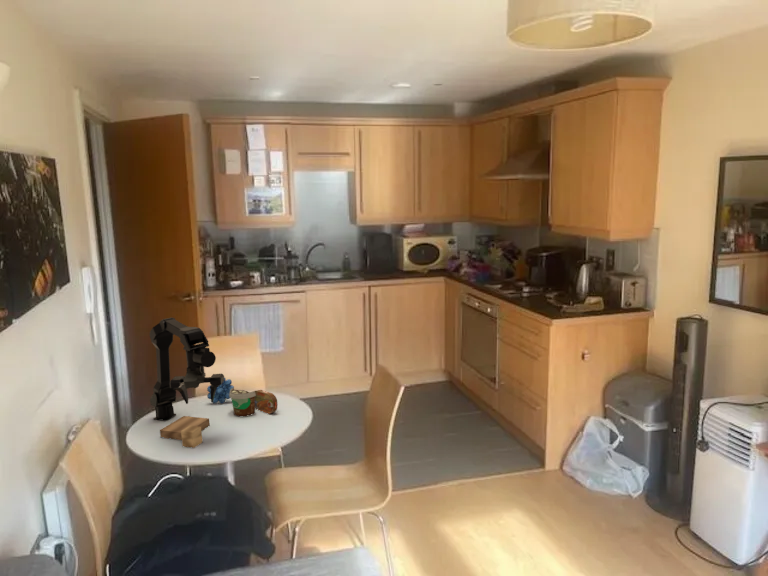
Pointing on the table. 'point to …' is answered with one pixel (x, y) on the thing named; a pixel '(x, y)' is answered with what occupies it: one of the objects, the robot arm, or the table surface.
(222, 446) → the table surface
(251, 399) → the food container
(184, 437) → the oak block
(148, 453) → the table surface
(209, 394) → the grapes
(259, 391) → the tin
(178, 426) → the walnut board
